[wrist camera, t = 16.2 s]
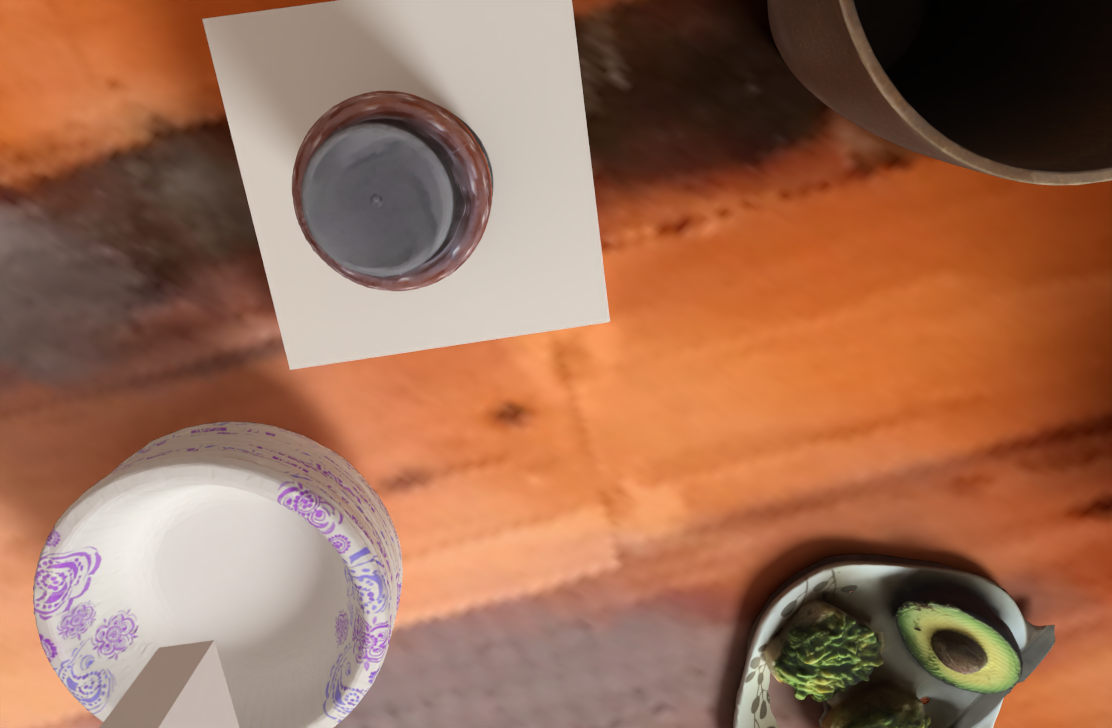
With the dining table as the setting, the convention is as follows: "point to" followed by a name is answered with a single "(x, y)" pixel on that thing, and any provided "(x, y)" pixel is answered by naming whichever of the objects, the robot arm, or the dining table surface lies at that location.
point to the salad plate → (889, 645)
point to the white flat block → (473, 96)
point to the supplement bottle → (392, 190)
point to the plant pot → (965, 78)
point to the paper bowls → (225, 574)
